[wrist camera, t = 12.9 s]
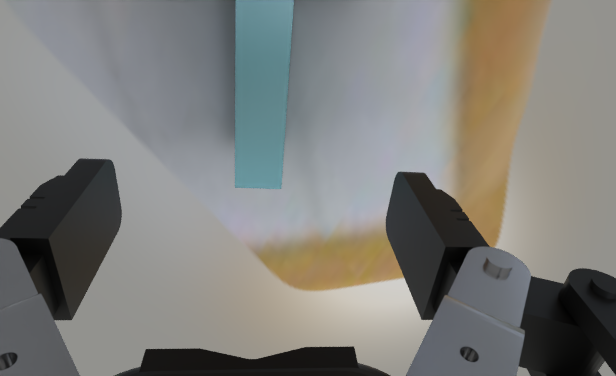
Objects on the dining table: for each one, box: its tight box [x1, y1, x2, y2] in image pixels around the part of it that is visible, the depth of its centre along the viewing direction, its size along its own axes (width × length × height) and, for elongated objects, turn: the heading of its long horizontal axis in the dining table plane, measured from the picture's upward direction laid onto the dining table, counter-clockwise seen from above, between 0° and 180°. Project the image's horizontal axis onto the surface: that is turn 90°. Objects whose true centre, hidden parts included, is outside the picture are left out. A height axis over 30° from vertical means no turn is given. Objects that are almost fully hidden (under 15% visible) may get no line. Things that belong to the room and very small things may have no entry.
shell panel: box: [235, 0, 294, 189], centre depth 21 cm, size 14×2×6 cm, turn 175°
